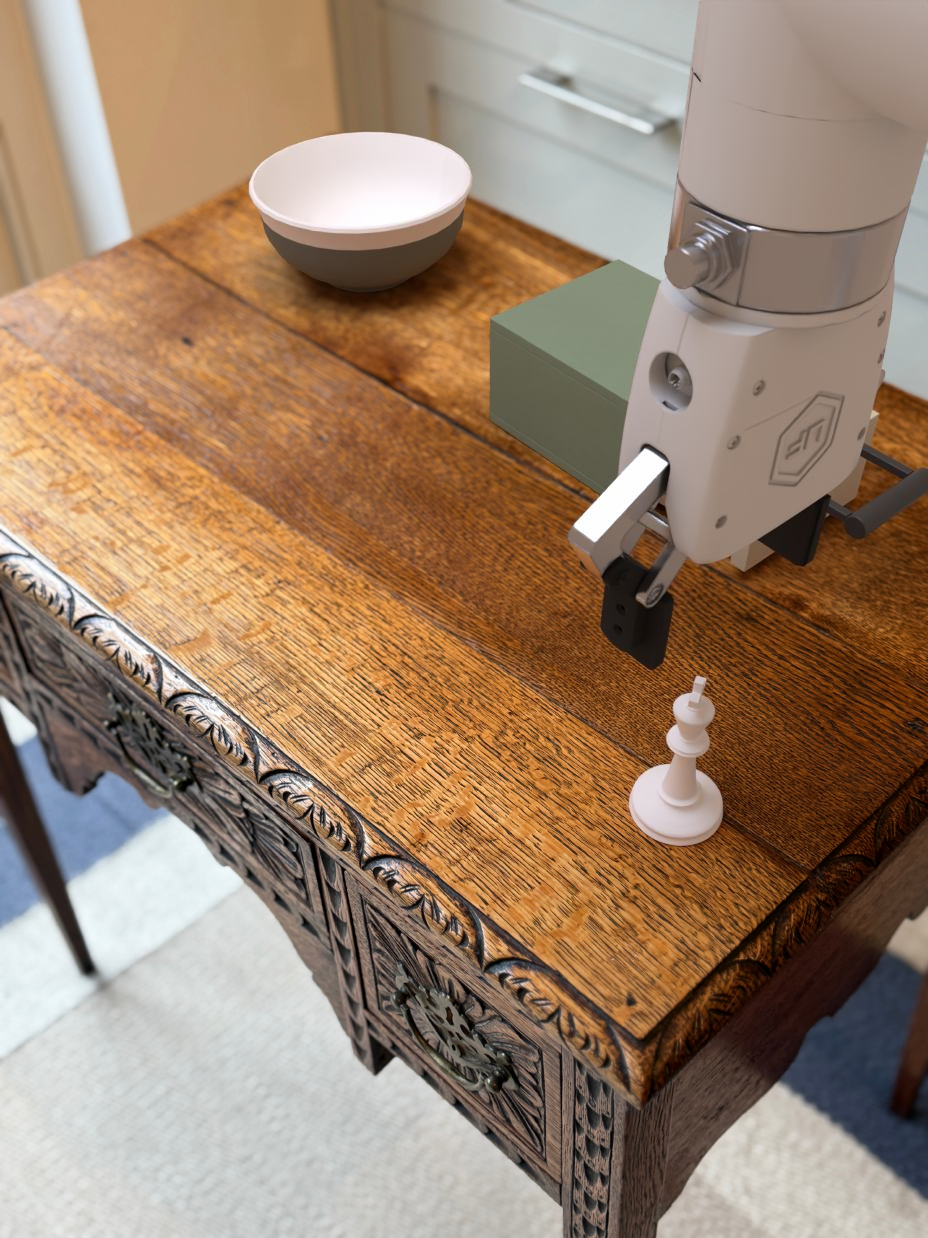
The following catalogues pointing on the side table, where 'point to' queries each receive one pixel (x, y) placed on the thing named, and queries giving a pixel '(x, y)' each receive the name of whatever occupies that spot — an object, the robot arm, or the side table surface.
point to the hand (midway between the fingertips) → (708, 596)
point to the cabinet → (572, 369)
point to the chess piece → (680, 780)
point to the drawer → (866, 516)
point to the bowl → (362, 206)
